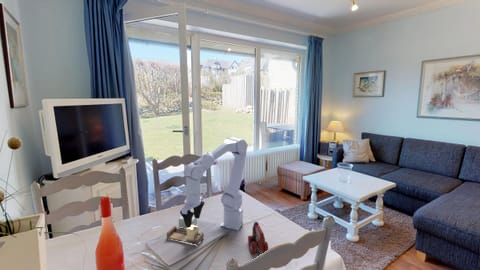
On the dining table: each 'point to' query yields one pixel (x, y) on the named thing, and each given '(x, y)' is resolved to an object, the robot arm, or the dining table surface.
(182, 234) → the rail deck
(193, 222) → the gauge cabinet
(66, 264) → the dining table surface
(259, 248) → the toy fire truck
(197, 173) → the robot arm
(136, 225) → the dining table surface
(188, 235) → the block
